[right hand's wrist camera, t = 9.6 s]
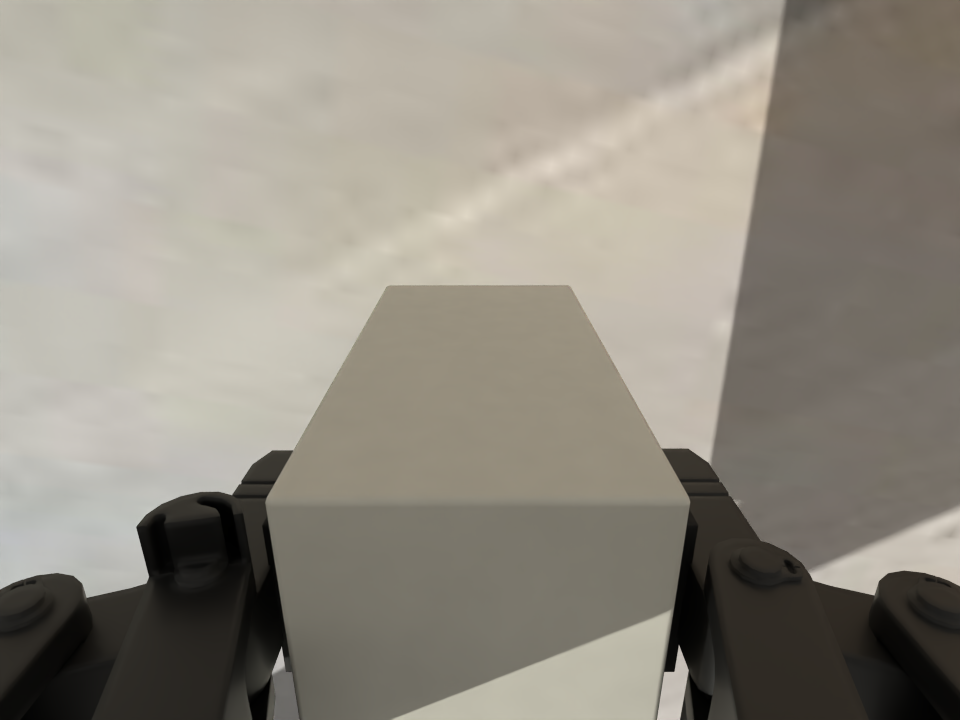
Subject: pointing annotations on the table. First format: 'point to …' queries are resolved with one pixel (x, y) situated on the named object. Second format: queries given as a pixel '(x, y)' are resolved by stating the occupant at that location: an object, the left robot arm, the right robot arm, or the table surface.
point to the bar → (478, 520)
